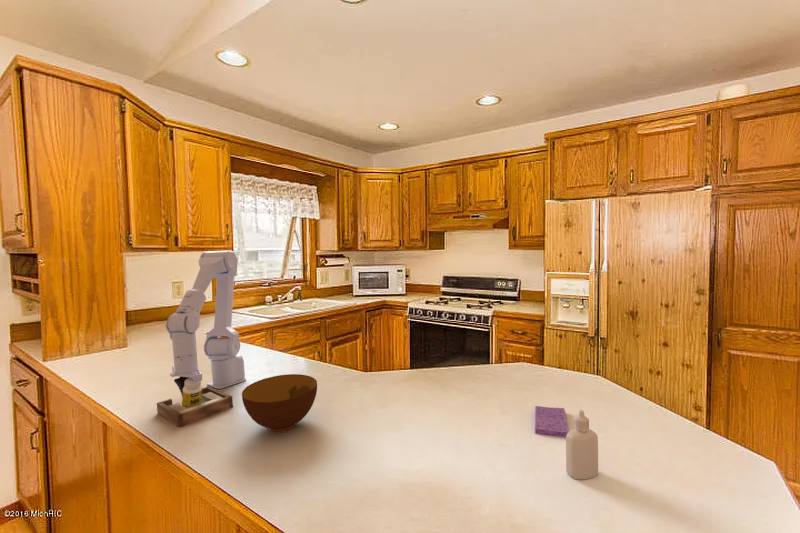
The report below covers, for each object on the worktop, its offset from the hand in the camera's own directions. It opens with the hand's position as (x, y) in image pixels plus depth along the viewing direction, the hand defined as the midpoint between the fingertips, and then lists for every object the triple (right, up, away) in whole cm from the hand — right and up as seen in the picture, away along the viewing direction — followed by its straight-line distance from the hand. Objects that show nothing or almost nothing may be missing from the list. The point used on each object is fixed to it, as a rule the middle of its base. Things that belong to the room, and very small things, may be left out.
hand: (188, 401), depth 105 cm
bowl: (+31, -1, -13) cm, 34 cm away
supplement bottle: (+2, -1, -2) cm, 3 cm away
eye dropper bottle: (+94, 0, -37) cm, 101 cm away
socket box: (+3, -2, -2) cm, 4 cm away
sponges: (+96, 0, -17) cm, 98 cm away
